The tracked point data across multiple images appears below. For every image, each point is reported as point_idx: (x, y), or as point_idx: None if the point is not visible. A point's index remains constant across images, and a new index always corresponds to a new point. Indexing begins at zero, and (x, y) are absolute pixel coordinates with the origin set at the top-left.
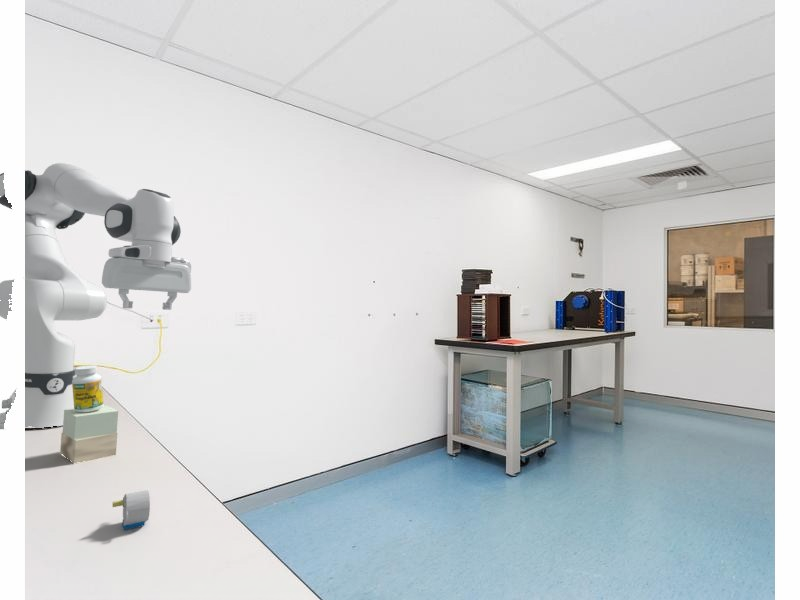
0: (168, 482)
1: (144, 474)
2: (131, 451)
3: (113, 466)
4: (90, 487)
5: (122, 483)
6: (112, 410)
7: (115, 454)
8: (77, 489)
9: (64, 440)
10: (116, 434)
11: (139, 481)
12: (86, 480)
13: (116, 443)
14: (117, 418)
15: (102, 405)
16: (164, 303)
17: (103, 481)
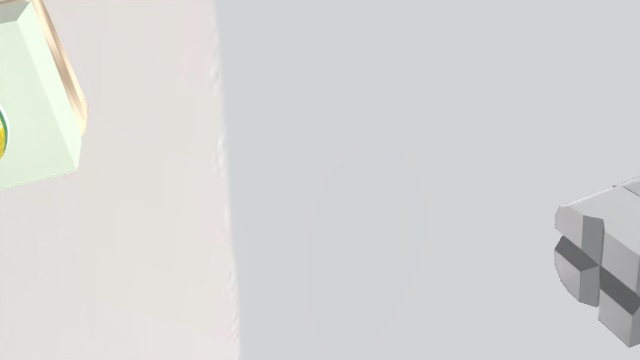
0: (193, 344)
1: (152, 287)
2: (136, 95)
3: (81, 208)
4: (31, 321)
5: (100, 321)
6: (54, 153)
7: (87, 106)
8: (2, 323)
9: None
10: (82, 132)
11: (137, 321)
12: (17, 279)
13: (86, 121)
14: (78, 158)
15: (6, 146)
16: (630, 285)
17: (58, 297)
